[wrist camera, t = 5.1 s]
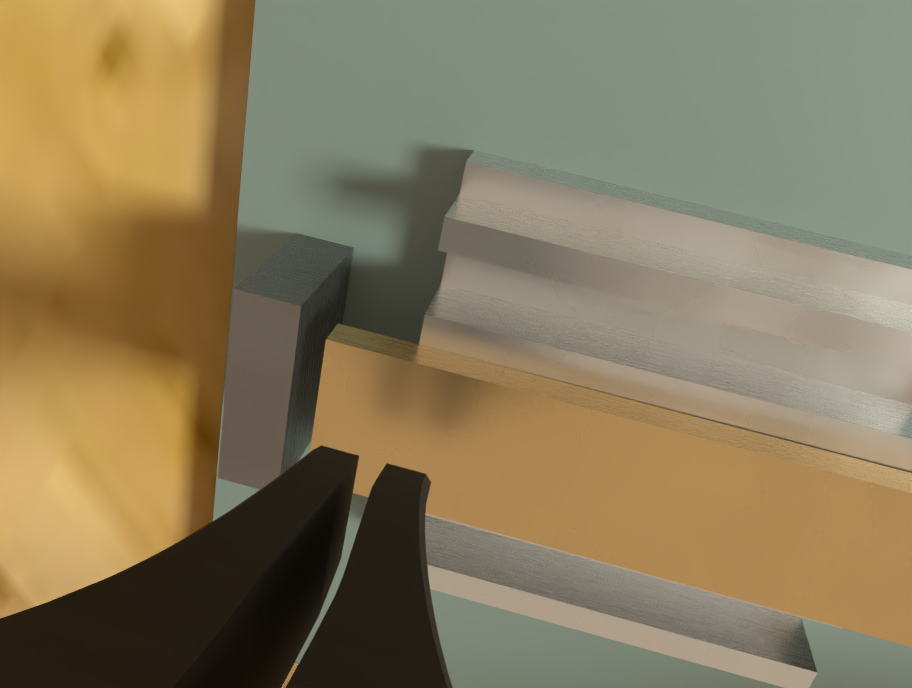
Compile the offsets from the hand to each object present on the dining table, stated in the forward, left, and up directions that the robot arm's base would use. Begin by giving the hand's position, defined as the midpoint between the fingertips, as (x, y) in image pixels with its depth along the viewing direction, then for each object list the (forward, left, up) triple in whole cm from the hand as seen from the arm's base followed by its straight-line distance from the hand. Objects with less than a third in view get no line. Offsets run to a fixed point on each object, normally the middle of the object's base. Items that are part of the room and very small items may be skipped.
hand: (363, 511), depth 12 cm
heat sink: (0, -4, -6) cm, 7 cm away
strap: (0, -5, -3) cm, 6 cm away
